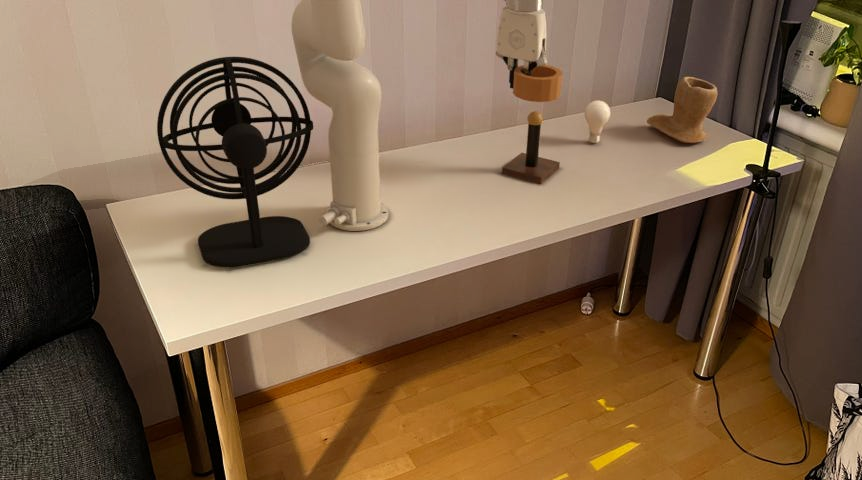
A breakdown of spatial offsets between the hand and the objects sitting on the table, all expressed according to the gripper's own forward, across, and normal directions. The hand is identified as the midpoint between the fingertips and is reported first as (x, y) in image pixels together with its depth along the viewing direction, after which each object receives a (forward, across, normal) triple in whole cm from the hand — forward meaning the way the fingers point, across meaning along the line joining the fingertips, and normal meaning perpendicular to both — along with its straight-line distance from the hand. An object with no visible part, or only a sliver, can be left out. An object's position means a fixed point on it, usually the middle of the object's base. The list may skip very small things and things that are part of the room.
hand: (519, 87), depth 174 cm
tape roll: (+1, +4, 0) cm, 4 cm away
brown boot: (+20, +27, +42) cm, 54 cm away
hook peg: (+18, +4, 0) cm, 18 cm away
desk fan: (+19, -26, -59) cm, 67 cm away
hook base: (+19, +4, 0) cm, 20 cm away
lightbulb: (+19, +10, +24) cm, 33 cm away
